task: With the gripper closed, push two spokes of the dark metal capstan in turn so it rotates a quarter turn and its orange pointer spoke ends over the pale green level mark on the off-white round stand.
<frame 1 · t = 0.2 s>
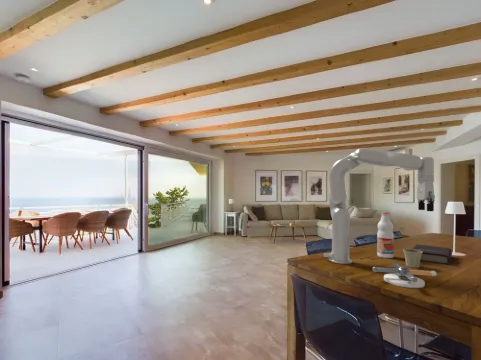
hand: (425, 210, 156), 31 cm above the table, fingers open, 9 cm apart
book: (431, 259, 178), on the table
fruit juice: (385, 256, 179), on the table
stand: (403, 282, 128), on the table
capstan: (403, 272, 128), point 4 cm above the table, hinge at 0.0°
flower pot: (412, 266, 156), on the table
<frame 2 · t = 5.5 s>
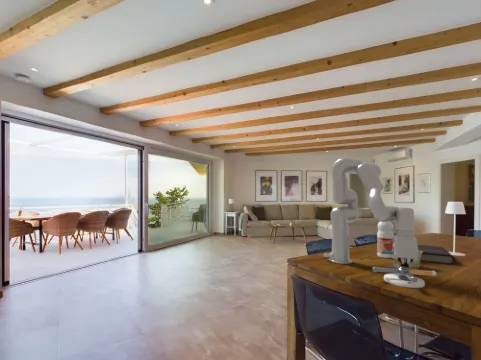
hand: (404, 272, 135), 3 cm above the table, fingers closed
capstan: (403, 272, 128), point 4 cm above the table, hinge at 0.2°, touching gripper
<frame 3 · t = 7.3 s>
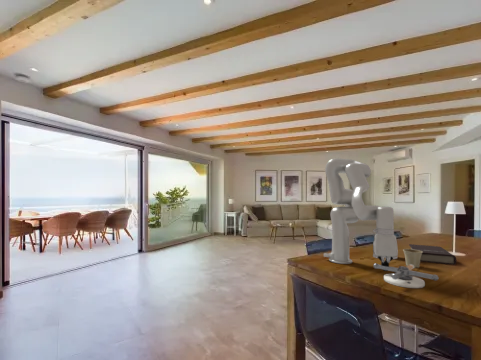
hand: (385, 270, 137), 3 cm above the table, fingers closed
capstan: (403, 272, 128), point 4 cm above the table, hinge at 56.2°, touching gripper
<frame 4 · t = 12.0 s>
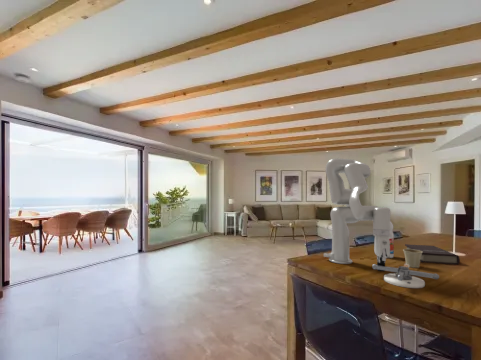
hand: (381, 270, 137), 3 cm above the table, fingers closed
capstan: (403, 272, 128), point 4 cm above the table, hinge at 66.1°, touching gripper
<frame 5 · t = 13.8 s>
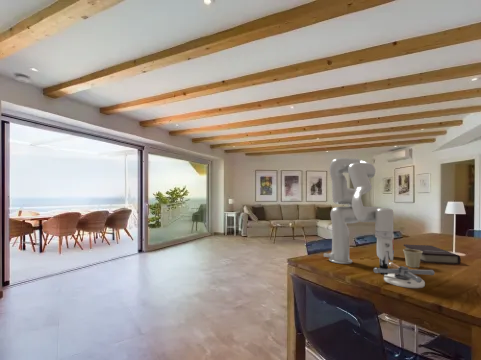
hand: (383, 274, 132), 2 cm above the table, fingers closed
capstan: (403, 272, 128), point 4 cm above the table, hinge at 97.8°
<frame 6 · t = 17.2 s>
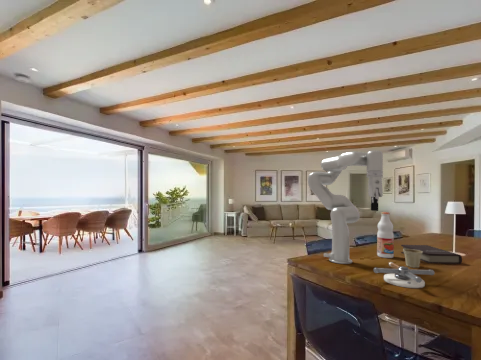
hand: (374, 210, 145), 31 cm above the table, fingers closed
at the end: capstan at +98° (first picture: +0°); capstan touching nothing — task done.
